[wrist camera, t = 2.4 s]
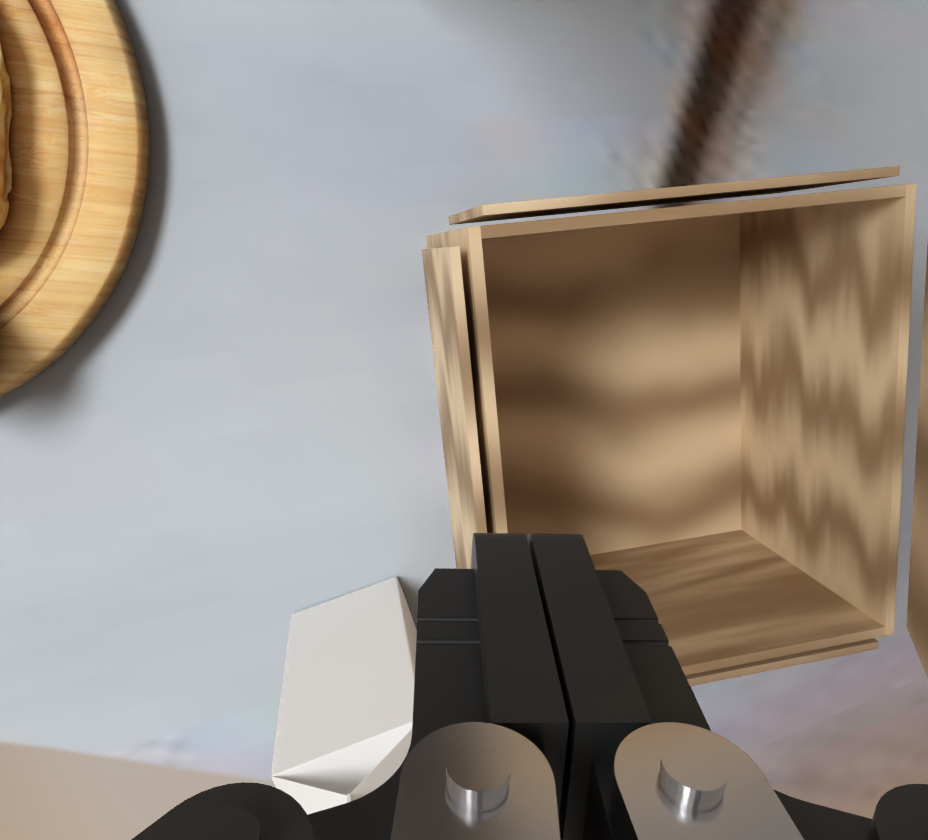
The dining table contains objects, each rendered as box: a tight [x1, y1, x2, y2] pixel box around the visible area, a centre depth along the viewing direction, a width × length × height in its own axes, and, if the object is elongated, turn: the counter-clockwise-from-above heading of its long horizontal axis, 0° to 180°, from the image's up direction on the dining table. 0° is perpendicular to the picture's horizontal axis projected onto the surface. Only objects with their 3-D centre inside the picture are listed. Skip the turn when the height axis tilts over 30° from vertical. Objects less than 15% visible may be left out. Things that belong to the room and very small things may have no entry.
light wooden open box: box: [422, 166, 917, 686], centre depth 39 cm, size 24×21×14 cm
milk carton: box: [272, 577, 417, 815], centre depth 38 cm, size 7×7×19 cm
